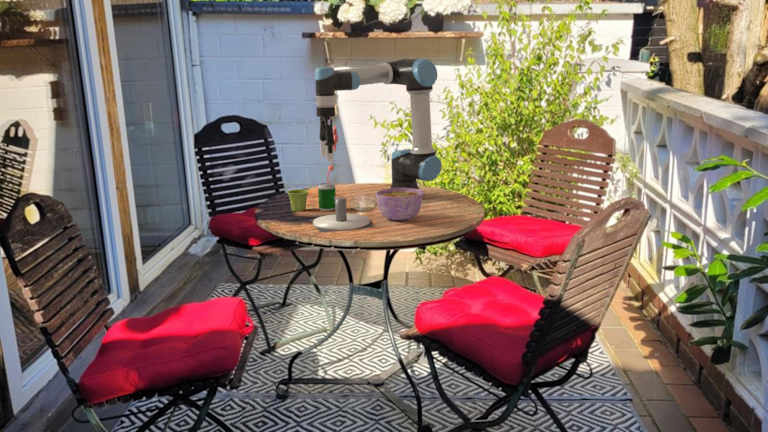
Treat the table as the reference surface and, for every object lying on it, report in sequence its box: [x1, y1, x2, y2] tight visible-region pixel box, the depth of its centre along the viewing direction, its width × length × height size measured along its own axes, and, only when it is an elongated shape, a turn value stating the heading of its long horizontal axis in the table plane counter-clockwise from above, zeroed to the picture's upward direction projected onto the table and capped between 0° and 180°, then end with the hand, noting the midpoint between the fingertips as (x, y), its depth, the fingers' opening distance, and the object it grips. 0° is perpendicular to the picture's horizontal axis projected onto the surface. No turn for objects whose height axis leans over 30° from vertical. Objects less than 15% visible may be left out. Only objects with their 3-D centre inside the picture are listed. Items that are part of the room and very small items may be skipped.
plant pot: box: [286, 189, 309, 213], centre depth 315 cm, size 9×9×9 cm
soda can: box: [317, 182, 337, 212], centre depth 313 cm, size 8×8×12 cm
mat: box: [309, 218, 375, 233], centre depth 290 cm, size 22×22×1 cm
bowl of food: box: [375, 188, 424, 222], centre depth 295 cm, size 20×20×12 cm
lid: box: [312, 197, 371, 231], centre depth 288 cm, size 23×23×10 cm
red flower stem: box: [319, 124, 348, 196], centre depth 336 cm, size 15×26×35 cm, turn 179°
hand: (327, 159), depth 290 cm, fingers open, 13 cm apart
